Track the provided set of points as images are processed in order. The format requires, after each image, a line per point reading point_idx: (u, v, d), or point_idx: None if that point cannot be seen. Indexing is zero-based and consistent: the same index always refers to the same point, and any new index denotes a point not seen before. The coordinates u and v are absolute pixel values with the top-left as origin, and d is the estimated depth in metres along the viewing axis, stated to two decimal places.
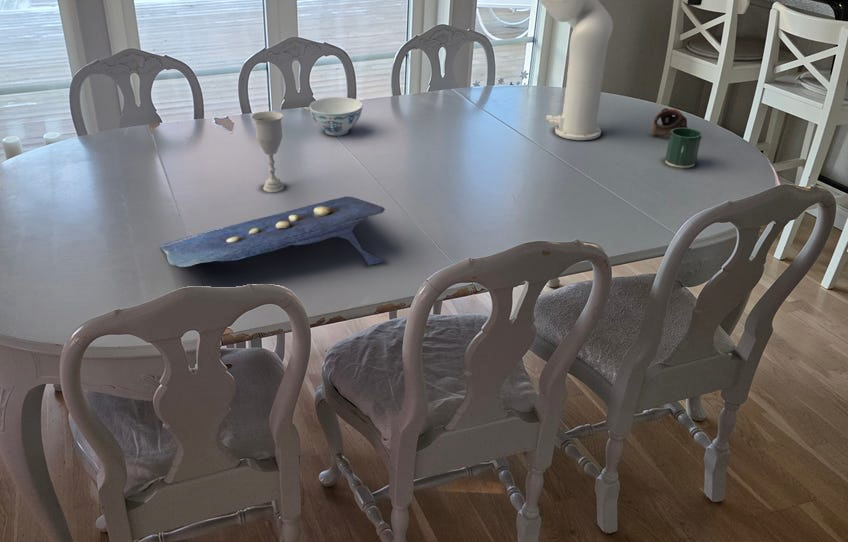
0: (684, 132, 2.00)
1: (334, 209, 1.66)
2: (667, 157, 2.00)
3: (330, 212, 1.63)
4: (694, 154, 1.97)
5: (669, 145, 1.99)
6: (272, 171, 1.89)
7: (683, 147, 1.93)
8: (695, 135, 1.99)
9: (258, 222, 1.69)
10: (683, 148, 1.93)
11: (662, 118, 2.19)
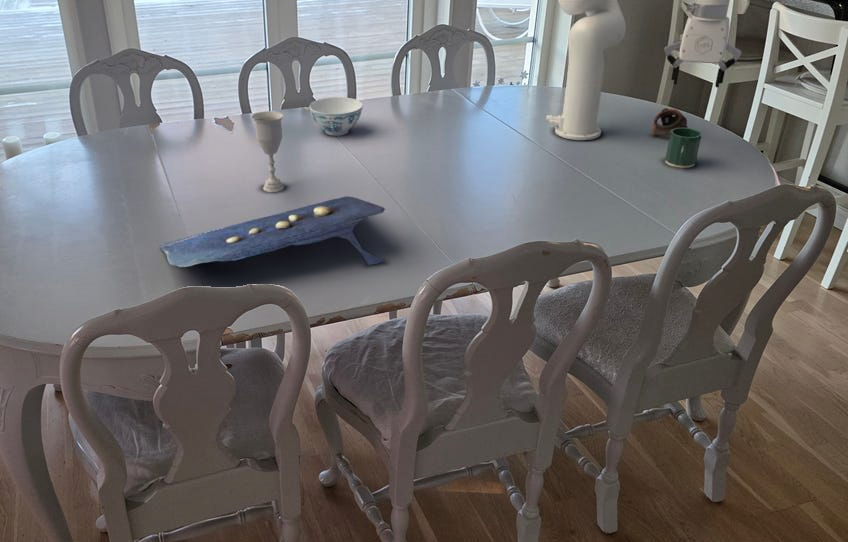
0: (684, 132, 2.00)
1: (334, 209, 1.66)
2: (667, 157, 2.00)
3: (330, 212, 1.63)
4: (694, 154, 1.97)
5: (669, 145, 1.99)
6: (272, 171, 1.89)
7: (683, 147, 1.93)
8: (695, 135, 1.99)
9: (258, 222, 1.68)
10: (683, 148, 1.93)
11: (662, 118, 2.19)
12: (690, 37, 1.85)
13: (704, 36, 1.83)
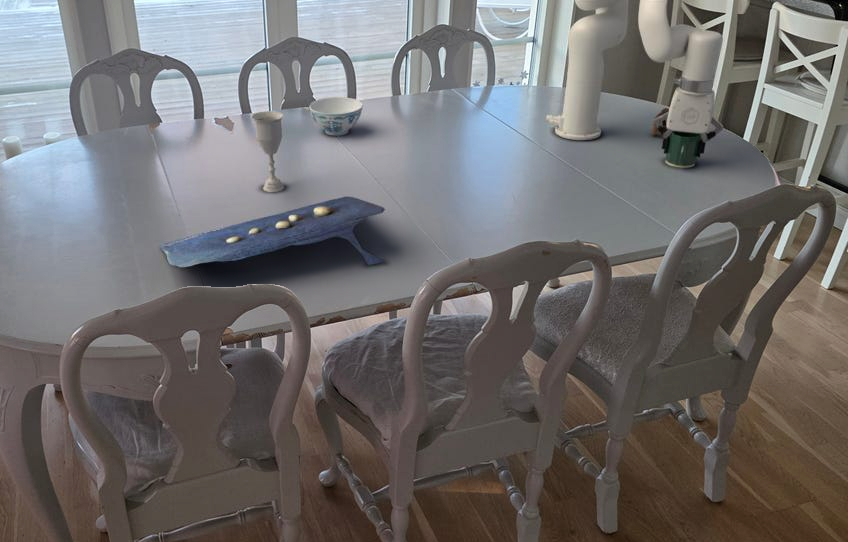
0: (684, 132, 2.00)
1: (334, 209, 1.66)
2: (667, 157, 2.00)
3: (330, 212, 1.63)
4: (694, 154, 1.97)
5: (669, 145, 1.99)
6: (272, 171, 1.89)
7: (683, 147, 1.93)
8: (695, 135, 1.99)
9: (258, 222, 1.68)
10: (683, 148, 1.93)
11: None
12: (677, 109, 1.92)
13: (690, 108, 1.91)
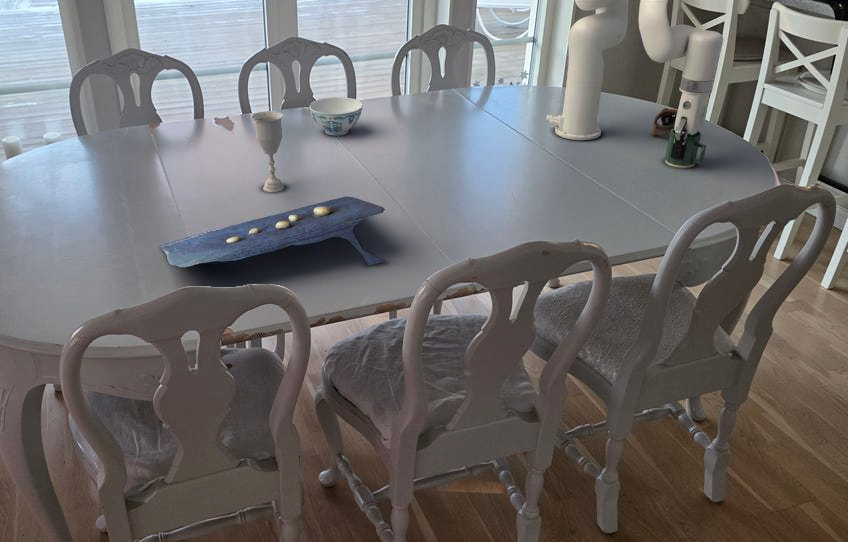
0: (674, 132, 2.00)
1: (334, 209, 1.66)
2: (677, 161, 1.98)
3: (330, 212, 1.63)
4: None
5: None
6: (272, 171, 1.89)
7: (705, 146, 1.93)
8: None
9: (258, 222, 1.68)
10: (705, 147, 1.93)
11: (662, 118, 2.19)
12: (698, 112, 1.90)
13: (703, 107, 1.92)
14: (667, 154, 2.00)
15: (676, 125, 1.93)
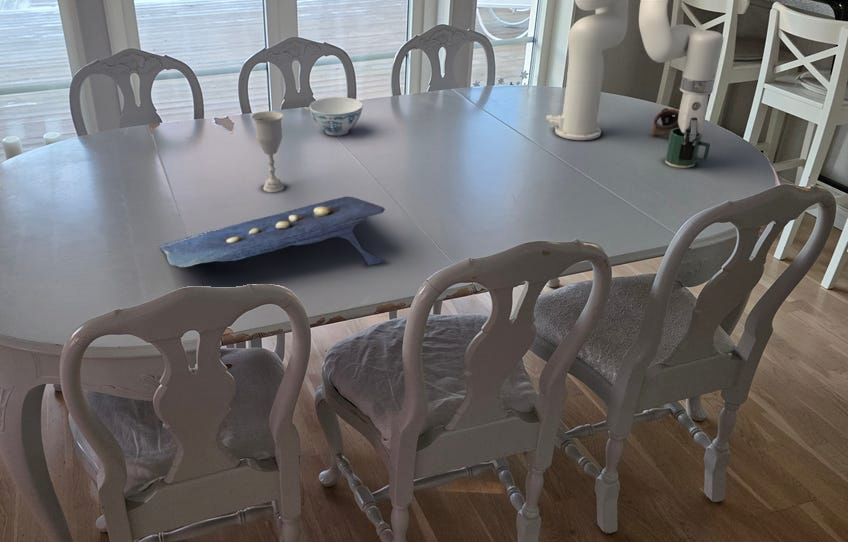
0: None
1: (334, 209, 1.66)
2: (682, 161, 1.97)
3: (330, 212, 1.63)
4: None
5: None
6: (272, 171, 1.89)
7: (709, 144, 1.94)
8: (680, 132, 2.00)
9: (258, 222, 1.68)
10: (709, 145, 1.94)
11: (662, 118, 2.19)
12: None
13: None
14: (669, 156, 1.99)
15: (685, 127, 1.92)
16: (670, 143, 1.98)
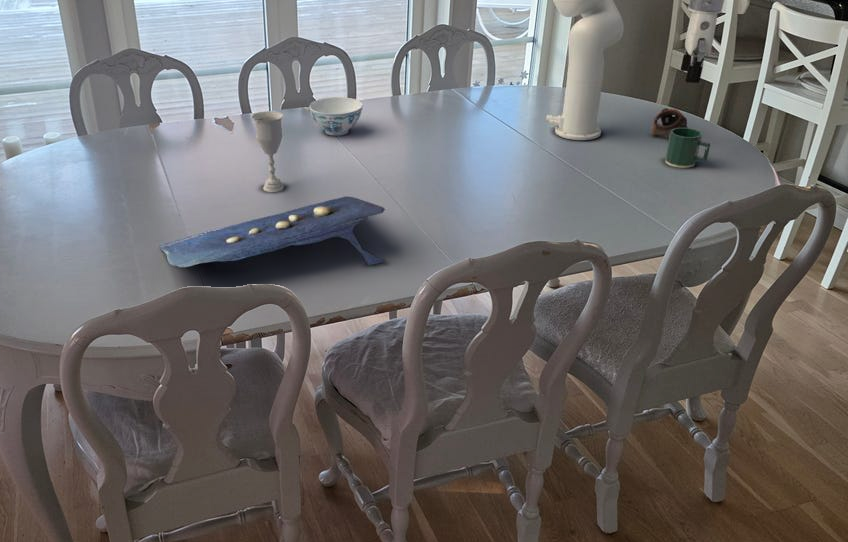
0: None
1: (334, 209, 1.66)
2: (682, 161, 1.97)
3: (330, 212, 1.63)
4: None
5: (684, 150, 1.96)
6: (272, 171, 1.89)
7: (709, 144, 1.94)
8: (680, 132, 2.00)
9: (258, 222, 1.68)
10: (709, 145, 1.94)
11: (662, 118, 2.19)
12: None
13: None
14: (669, 156, 1.99)
15: (693, 48, 1.86)
16: (670, 143, 1.98)
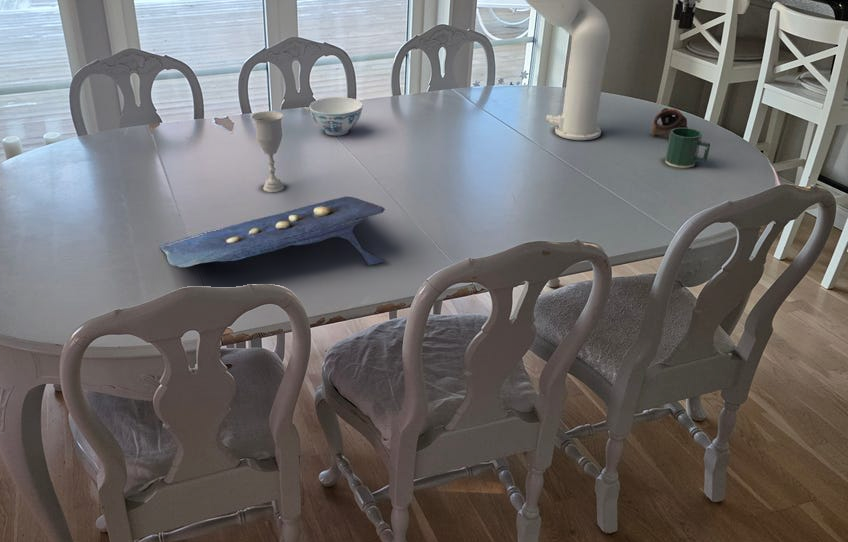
0: None
1: (334, 209, 1.66)
2: (682, 161, 1.97)
3: (330, 212, 1.63)
4: None
5: (684, 150, 1.96)
6: (272, 171, 1.89)
7: (709, 144, 1.94)
8: (680, 132, 2.00)
9: (258, 222, 1.68)
10: (709, 145, 1.94)
11: (662, 118, 2.19)
12: None
13: None
14: (669, 156, 1.99)
15: None
16: (670, 143, 1.98)
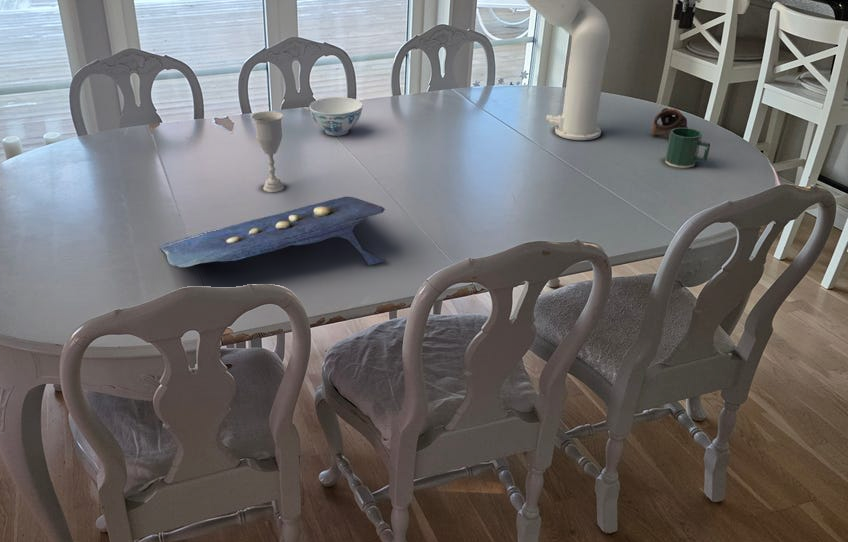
0: None
1: (334, 209, 1.66)
2: (682, 161, 1.97)
3: (330, 212, 1.63)
4: None
5: (684, 150, 1.96)
6: (272, 171, 1.89)
7: (709, 144, 1.94)
8: (680, 132, 2.00)
9: (258, 222, 1.68)
10: (709, 145, 1.94)
11: (662, 118, 2.19)
12: None
13: None
14: (669, 156, 1.99)
15: None
16: (670, 143, 1.98)
